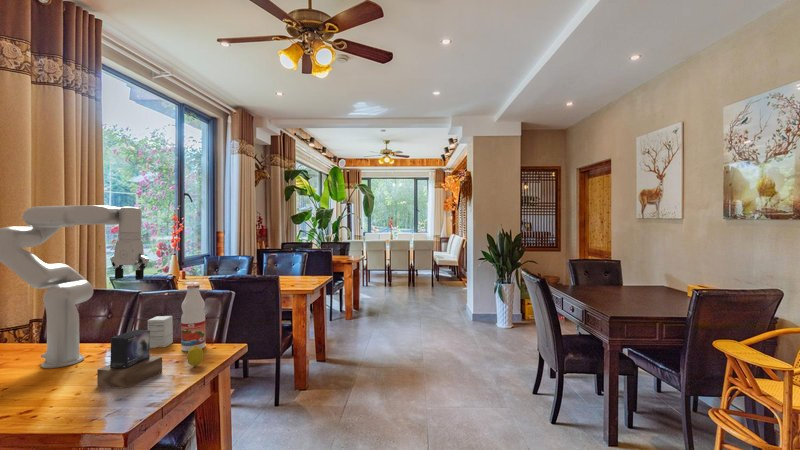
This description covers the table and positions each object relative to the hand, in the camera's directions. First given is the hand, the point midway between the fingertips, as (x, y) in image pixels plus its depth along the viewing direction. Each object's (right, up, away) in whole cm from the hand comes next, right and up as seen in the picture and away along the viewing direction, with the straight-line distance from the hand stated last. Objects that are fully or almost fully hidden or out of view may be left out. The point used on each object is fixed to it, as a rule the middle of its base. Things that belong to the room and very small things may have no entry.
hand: (129, 279), depth 149 cm
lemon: (+32, -33, -9) cm, 47 cm away
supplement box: (+1, -33, +17) cm, 37 cm away
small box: (+15, -27, -20) cm, 37 cm away
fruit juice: (+19, -33, +13) cm, 40 cm away
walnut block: (+15, -33, -20) cm, 41 cm away
